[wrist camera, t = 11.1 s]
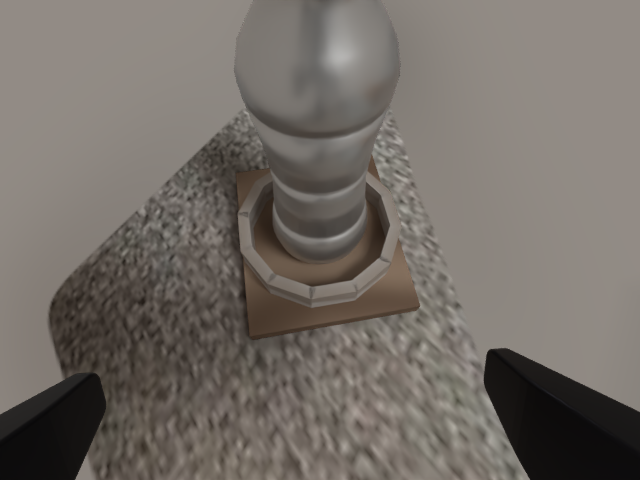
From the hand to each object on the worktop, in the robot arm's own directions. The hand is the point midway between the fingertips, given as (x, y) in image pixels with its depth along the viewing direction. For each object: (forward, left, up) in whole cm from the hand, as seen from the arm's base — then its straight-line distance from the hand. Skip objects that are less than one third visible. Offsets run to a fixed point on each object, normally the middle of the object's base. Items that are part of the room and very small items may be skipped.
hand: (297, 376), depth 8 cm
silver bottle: (+10, -6, -15) cm, 19 cm away
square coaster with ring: (+10, -6, -16) cm, 20 cm away
